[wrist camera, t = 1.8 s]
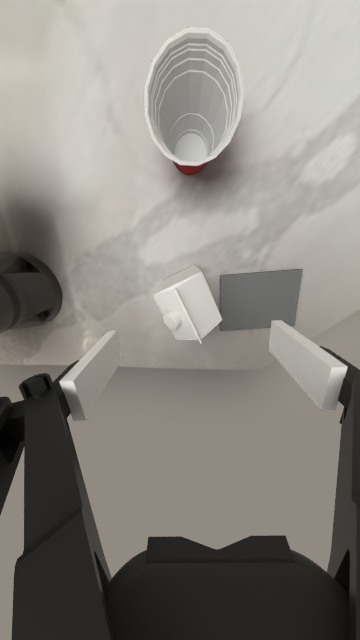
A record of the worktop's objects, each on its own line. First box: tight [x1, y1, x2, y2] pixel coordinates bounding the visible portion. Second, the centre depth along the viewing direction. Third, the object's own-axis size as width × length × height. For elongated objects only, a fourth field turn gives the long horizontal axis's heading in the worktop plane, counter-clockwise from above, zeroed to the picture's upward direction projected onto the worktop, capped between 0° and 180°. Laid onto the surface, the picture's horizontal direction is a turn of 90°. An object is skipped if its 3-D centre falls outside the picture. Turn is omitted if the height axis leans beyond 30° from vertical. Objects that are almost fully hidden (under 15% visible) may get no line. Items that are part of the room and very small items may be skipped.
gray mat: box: [220, 269, 303, 331], centre depth 39 cm, size 16×12×1 cm
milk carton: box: [153, 264, 222, 343], centre depth 30 cm, size 7×7×19 cm
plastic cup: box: [144, 27, 244, 175], centre depth 25 cm, size 11×11×12 cm
